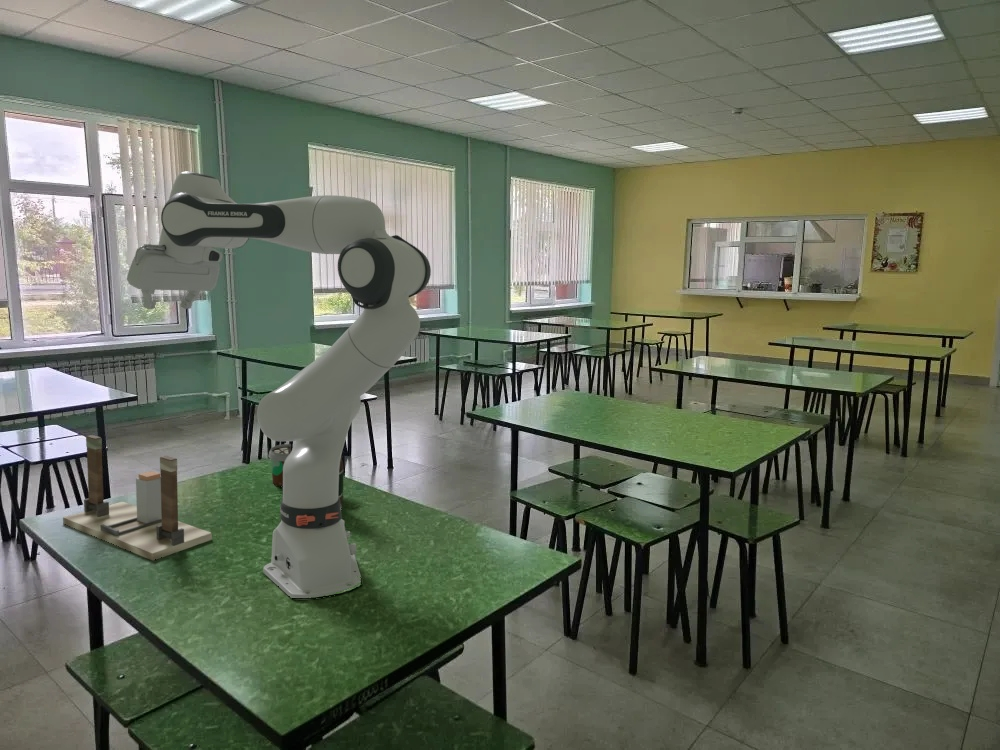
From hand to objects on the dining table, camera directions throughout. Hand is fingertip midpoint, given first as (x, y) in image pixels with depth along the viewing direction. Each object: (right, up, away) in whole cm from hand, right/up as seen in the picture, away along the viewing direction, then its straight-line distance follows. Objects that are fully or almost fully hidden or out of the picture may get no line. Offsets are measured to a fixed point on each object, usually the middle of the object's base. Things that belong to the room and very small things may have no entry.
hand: (167, 307), depth 145 cm
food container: (+9, -46, +47) cm, 66 cm away
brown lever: (+1, -49, -1) cm, 49 cm away
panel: (-11, -50, +7) cm, 52 cm away
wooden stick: (-23, -46, +13) cm, 53 cm away
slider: (-9, -48, +10) cm, 50 cm away
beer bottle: (+28, -50, +26) cm, 63 cm away
